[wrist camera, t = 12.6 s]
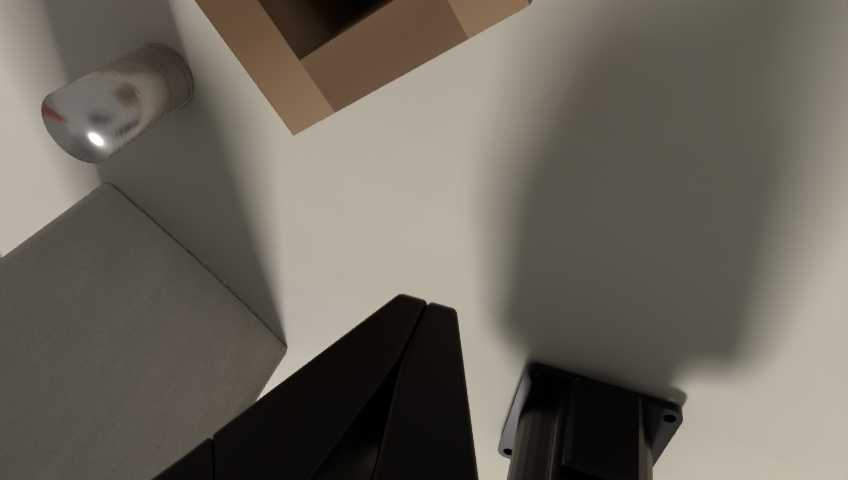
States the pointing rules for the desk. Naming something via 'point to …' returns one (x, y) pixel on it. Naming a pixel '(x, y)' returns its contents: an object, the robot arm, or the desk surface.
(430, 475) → the robot arm
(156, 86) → the stand rod
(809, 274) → the desk surface
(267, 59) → the collar
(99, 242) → the grey pentagonal slab
